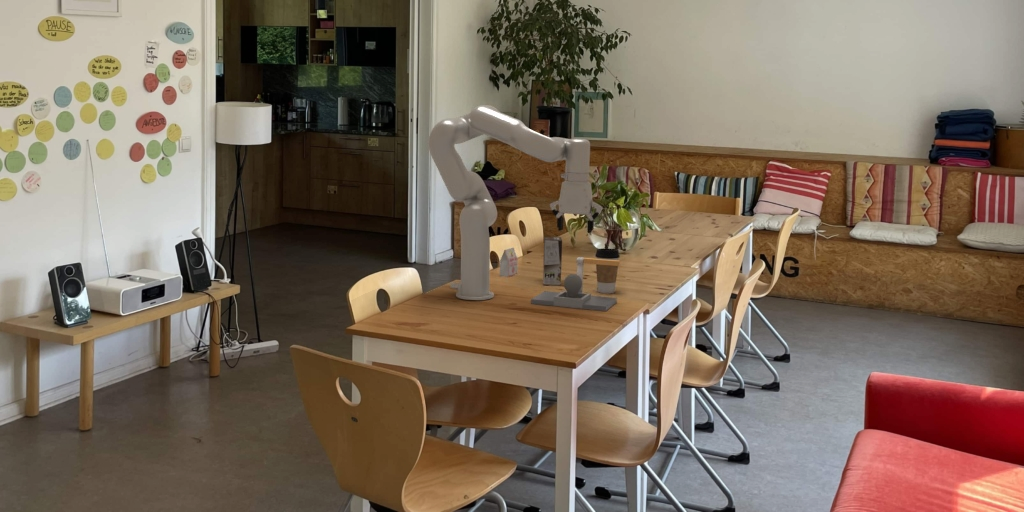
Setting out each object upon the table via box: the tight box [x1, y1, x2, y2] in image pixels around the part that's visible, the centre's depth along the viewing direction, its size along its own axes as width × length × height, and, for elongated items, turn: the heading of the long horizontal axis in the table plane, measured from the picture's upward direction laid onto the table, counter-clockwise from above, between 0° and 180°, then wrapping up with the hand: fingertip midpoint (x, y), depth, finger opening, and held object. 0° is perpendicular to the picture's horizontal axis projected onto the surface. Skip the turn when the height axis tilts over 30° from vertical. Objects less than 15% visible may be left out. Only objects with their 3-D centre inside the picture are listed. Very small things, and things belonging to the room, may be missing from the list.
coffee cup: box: [595, 247, 620, 294], centre depth 328 cm, size 8×8×15 cm
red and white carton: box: [499, 247, 519, 278], centre depth 354 cm, size 4×7×10 cm, turn 151°
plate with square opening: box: [530, 262, 618, 312], centre depth 309 cm, size 25×14×12 cm, turn 70°
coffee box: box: [542, 236, 563, 286], centre depth 341 cm, size 9×6×16 cm
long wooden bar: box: [576, 256, 621, 267], centre depth 312 cm, size 3×14×2 cm, turn 71°
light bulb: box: [563, 273, 582, 298], centre depth 307 cm, size 6×6×10 cm
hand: (575, 231), depth 304 cm, fingers open, 9 cm apart
